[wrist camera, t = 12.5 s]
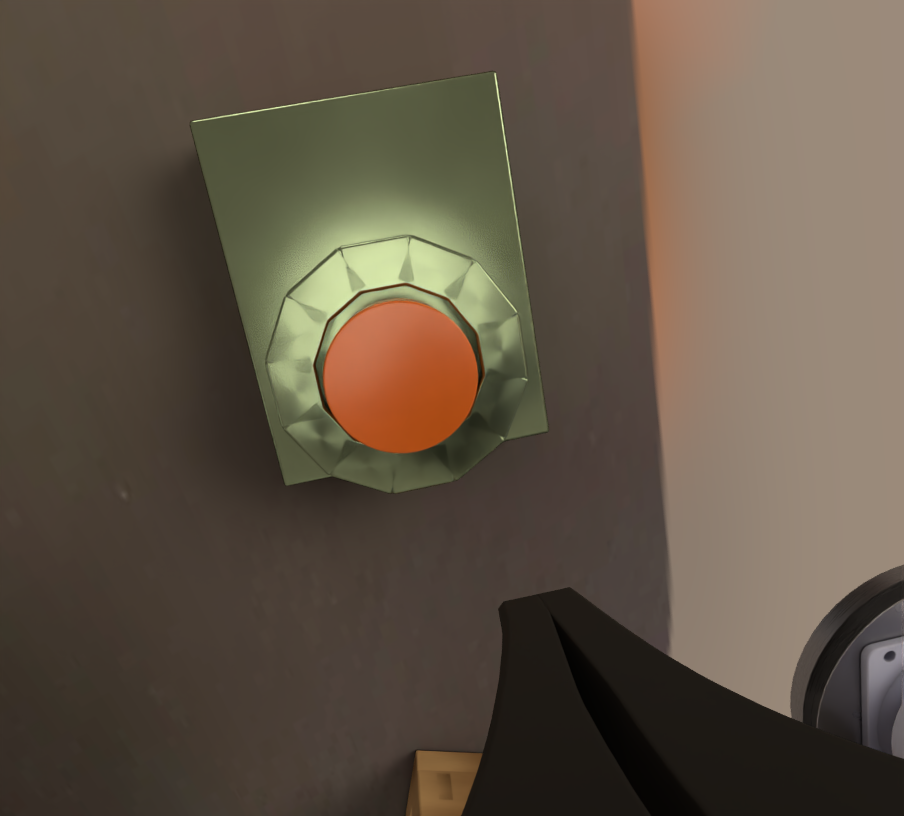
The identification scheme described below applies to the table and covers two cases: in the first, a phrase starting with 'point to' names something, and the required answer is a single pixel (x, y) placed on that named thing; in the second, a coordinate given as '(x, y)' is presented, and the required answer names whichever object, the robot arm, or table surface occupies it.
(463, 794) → the wooden rack
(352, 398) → the button
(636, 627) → the table surface
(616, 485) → the table surface
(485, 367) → the control block
